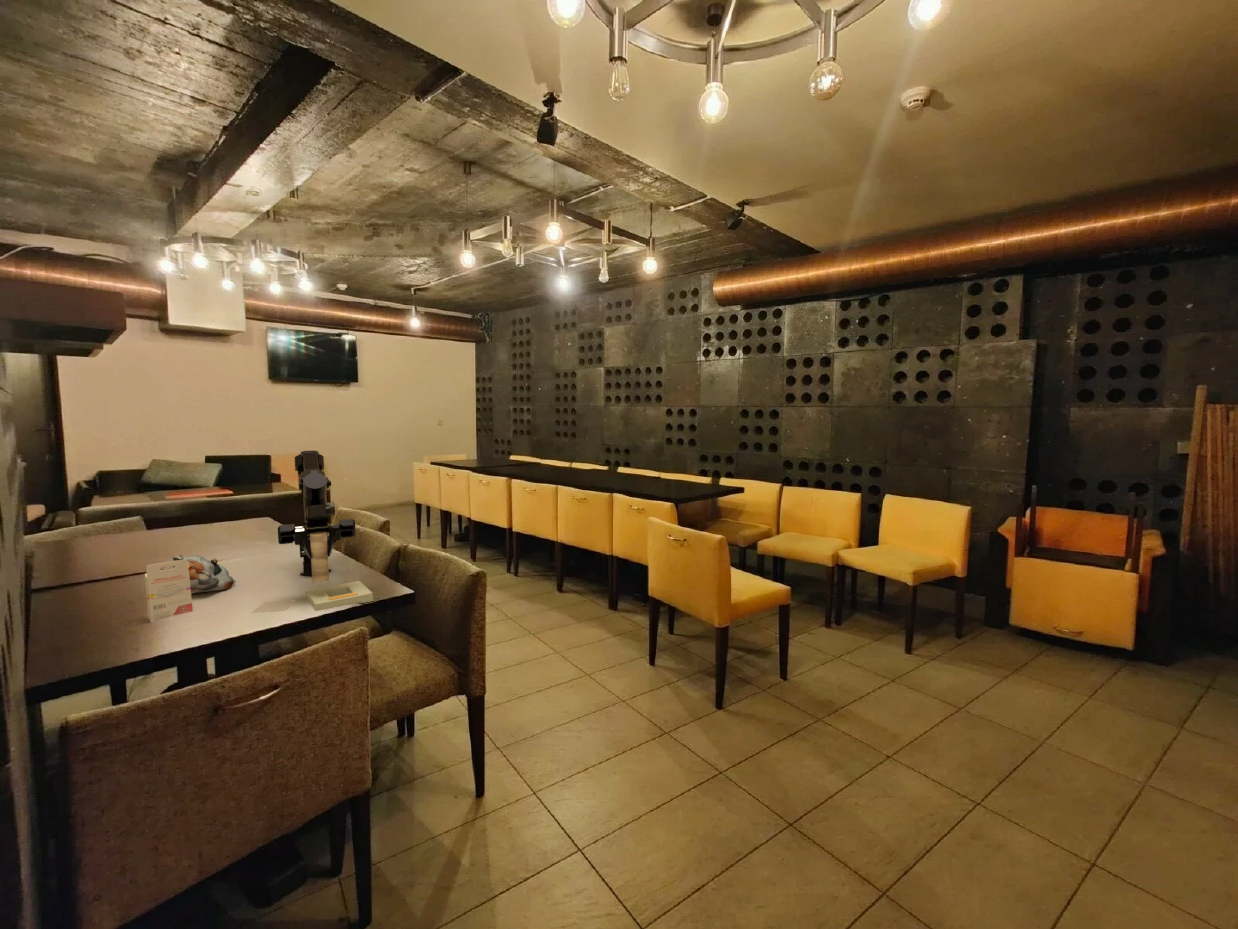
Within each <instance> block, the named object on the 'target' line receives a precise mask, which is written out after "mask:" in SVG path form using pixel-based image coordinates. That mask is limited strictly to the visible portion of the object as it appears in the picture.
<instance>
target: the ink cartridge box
mask: <svg viewBox="0 0 1238 929" xmlns="http://www.w3.org/2000/svg"><path fill="white" fill-rule="evenodd" d="M167 566H169V567H171V568H165V567H167ZM173 566H175V567H173ZM145 568H146V573H144V584H145V596H146V605H147V607H146V608H147V617H148V618H147V619H148V620H149V622H150V623H154V622H157V621H160V620H162V619H165V618H168V617H171V616H177V615H181V614H185V613H189V612H193V611H194V610H193V601H192V600H193V599H192V598H193V597H192V594H191V587H190V576H189V570H188V565H187V560H186V559H183V560H177V561H174V560H171V561H164V562H159V563H158V562H157V563H153V564H148V565H146V566H145ZM161 568H165V569H161Z"/></svg>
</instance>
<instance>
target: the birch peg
mask: <svg viewBox="0 0 1238 929" xmlns="http://www.w3.org/2000/svg"><path fill="white" fill-rule="evenodd" d="M327 536H328V533H327V532H315V533H311V534H310V545H311V557H312V559H311V565H312V576H311V581H312V582H313V583H323V582H324V583H325V582H327V581H329V580H330V577H329V576H330V574H329V573H330V571H329V569H330V568H329V557H328V548H327Z"/></svg>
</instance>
